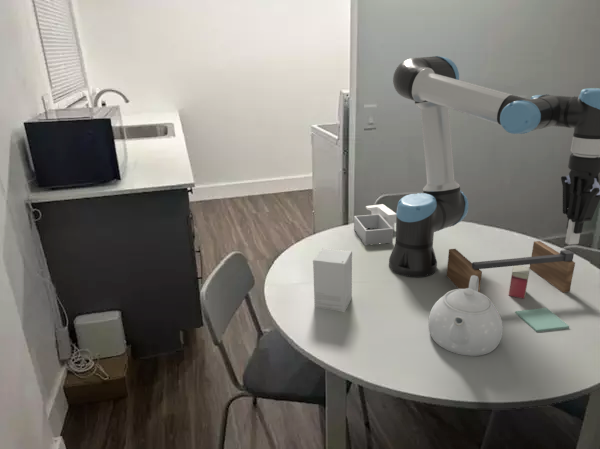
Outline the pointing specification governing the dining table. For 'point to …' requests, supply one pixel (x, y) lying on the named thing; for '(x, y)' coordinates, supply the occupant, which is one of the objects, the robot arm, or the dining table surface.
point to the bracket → (383, 213)
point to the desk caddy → (373, 236)
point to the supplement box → (333, 279)
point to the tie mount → (551, 271)
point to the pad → (542, 319)
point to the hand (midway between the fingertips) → (571, 243)
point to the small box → (519, 281)
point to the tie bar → (525, 260)
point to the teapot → (466, 321)
